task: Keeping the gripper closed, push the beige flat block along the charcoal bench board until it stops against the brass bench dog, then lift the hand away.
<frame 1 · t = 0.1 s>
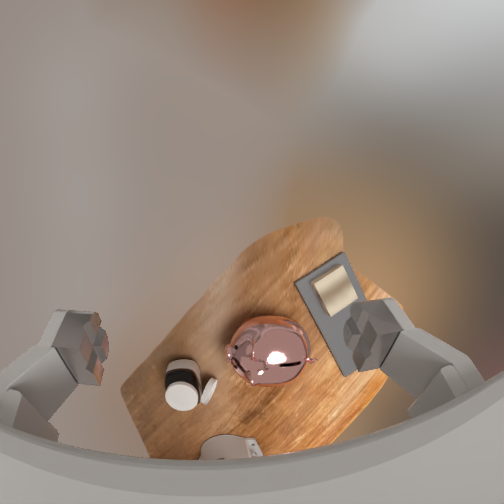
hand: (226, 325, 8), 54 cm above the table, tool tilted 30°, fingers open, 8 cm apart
bench board: (343, 317, 67), on the table
spread jar: (193, 376, 63), on the table
piggy bank: (261, 339, 65), on the table
beige flat block: (331, 289, 65), point 1 cm above the table, touching bench board
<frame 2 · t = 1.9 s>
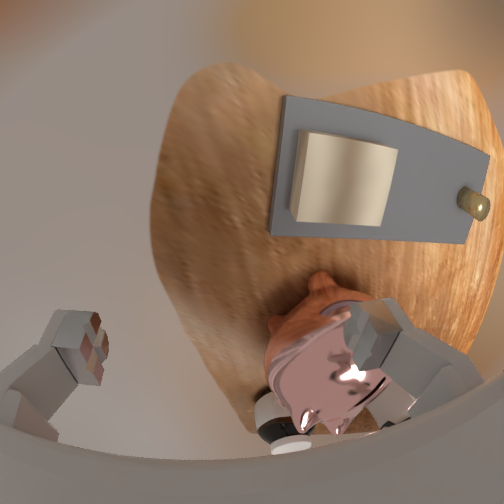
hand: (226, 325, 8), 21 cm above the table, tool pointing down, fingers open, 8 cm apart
bench board: (399, 181, 29), on the table
spread jar: (289, 389, 48), on the table
piggy bank: (313, 316, 38), on the table
bench dog: (457, 193, 30), resting on bench board
beige flat block: (337, 174, 26), point 1 cm above the table, touching bench board
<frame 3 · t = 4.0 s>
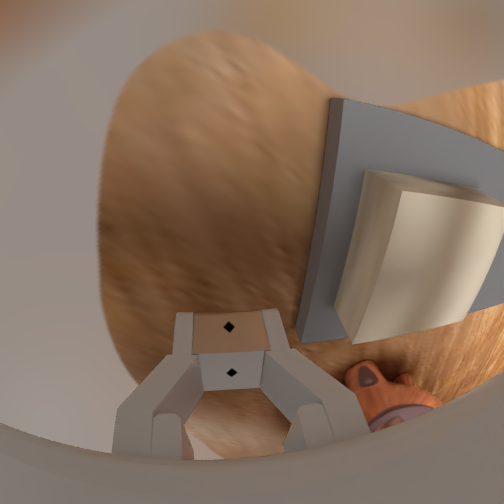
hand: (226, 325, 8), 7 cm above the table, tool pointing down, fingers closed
bench board: (480, 235, 17), on the table
piggy bank: (346, 400, 26), on the table
beige flat block: (415, 245, 14), point 1 cm above the table, touching bench board
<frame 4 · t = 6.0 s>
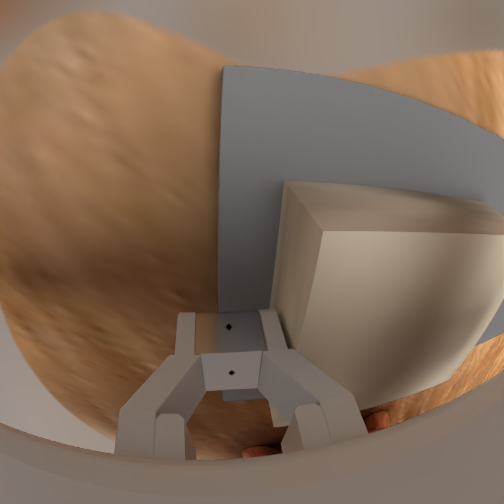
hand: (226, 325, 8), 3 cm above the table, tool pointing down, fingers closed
bench board: (480, 259, 13), on the table
piggy bank: (309, 438, 22), on the table
beige flat block: (383, 288, 10), point 2 cm above the table, touching gripper
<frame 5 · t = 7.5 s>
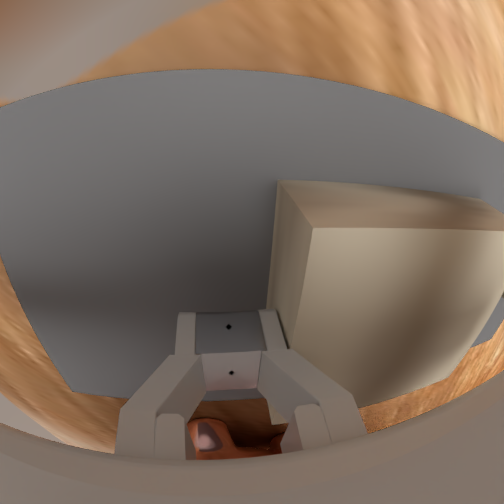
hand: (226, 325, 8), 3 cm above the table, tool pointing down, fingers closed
bench board: (370, 267, 12), on the table
piggy bank: (219, 448, 21), on the table
beige flat block: (379, 286, 10), point 2 cm above the table, touching bench board, gripper
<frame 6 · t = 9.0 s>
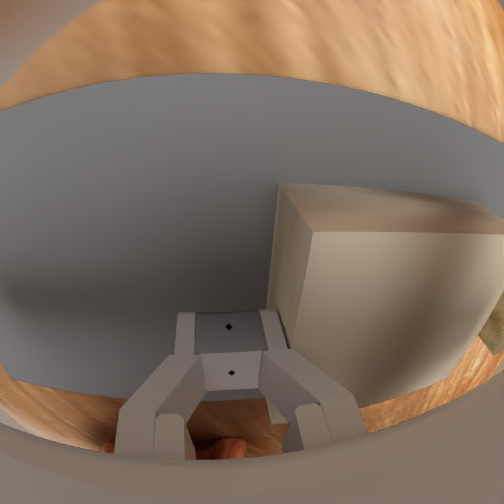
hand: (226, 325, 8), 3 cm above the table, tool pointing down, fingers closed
bench board: (254, 273, 11), on the table
piggy bank: (165, 447, 20), on the table
bench dog: (453, 262, 13), resting on bench board
beige flat block: (378, 288, 10), point 2 cm above the table, touching bench board, gripper
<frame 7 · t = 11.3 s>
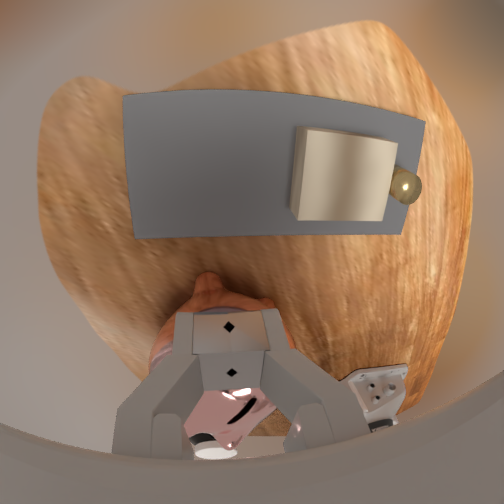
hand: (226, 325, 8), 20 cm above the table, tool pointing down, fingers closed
bench board: (286, 164, 27), on the table
spread jar: (220, 392, 46), on the table
piggy bank: (215, 319, 36), on the table
bench dog: (381, 172, 28), resting on bench board
beige flat block: (337, 170, 26), point 1 cm above the table, touching bench board
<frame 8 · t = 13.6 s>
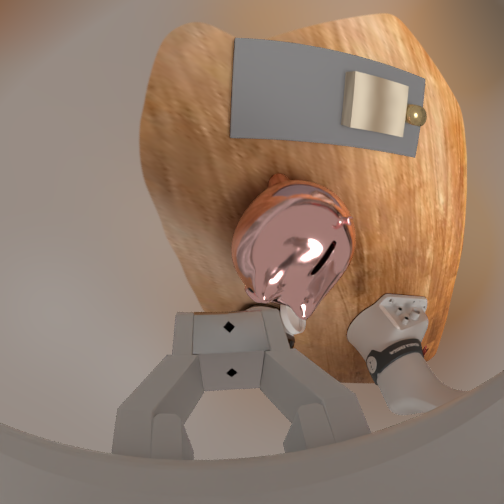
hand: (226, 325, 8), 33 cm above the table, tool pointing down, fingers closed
bench board: (337, 97, 35), on the table
spread jar: (268, 311, 54), on the table
piggy bank: (279, 221, 44), on the table
bench dog: (398, 111, 36), resting on bench board
beige flat block: (370, 103, 34), point 1 cm above the table, touching bench board
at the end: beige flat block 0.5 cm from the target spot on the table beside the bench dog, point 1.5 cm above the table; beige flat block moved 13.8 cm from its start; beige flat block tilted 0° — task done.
